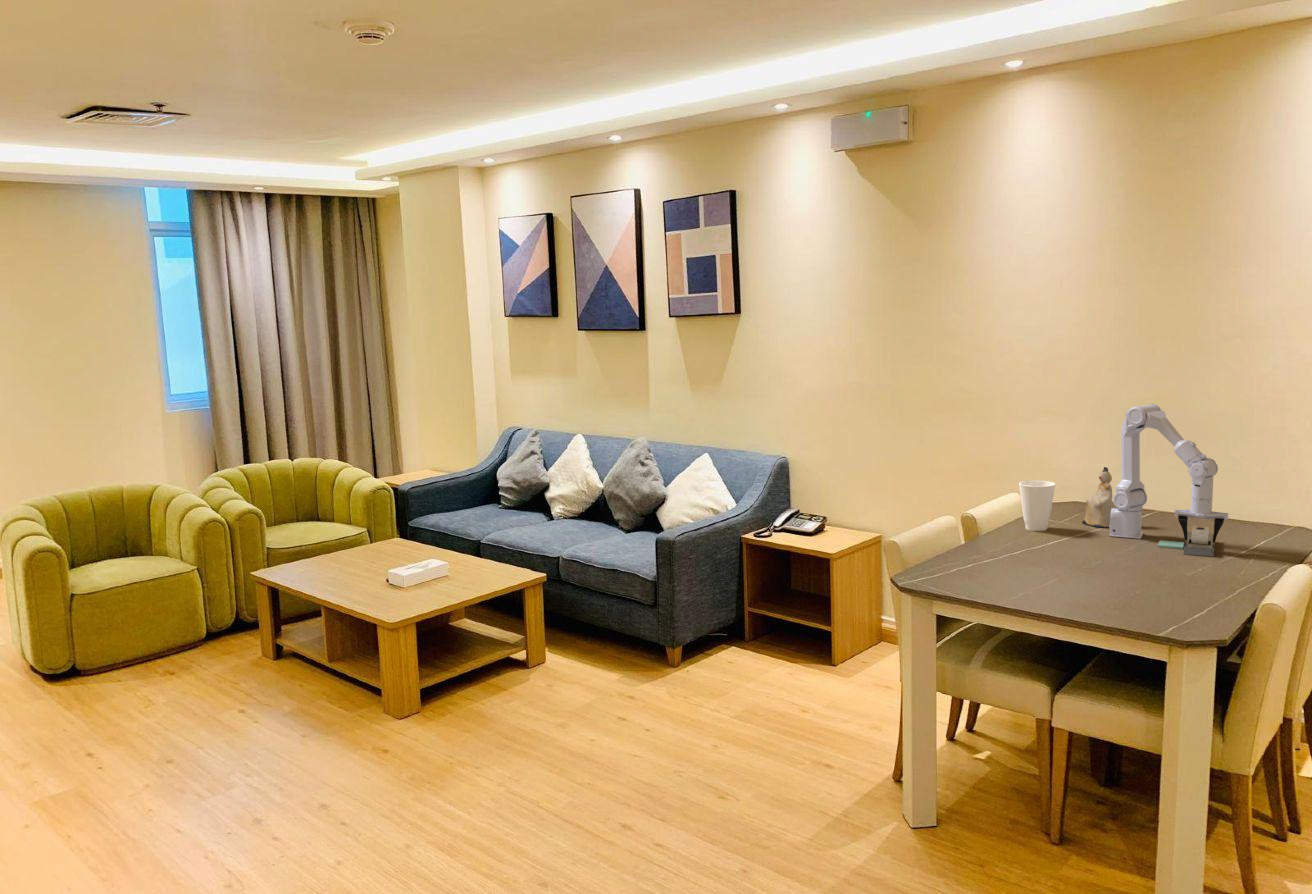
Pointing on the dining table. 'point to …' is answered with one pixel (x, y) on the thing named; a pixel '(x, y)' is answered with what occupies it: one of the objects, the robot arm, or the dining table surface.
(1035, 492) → the cup
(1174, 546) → the mat
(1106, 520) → the figurine
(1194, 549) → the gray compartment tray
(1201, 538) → the cube with screw head
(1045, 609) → the dining table surface
